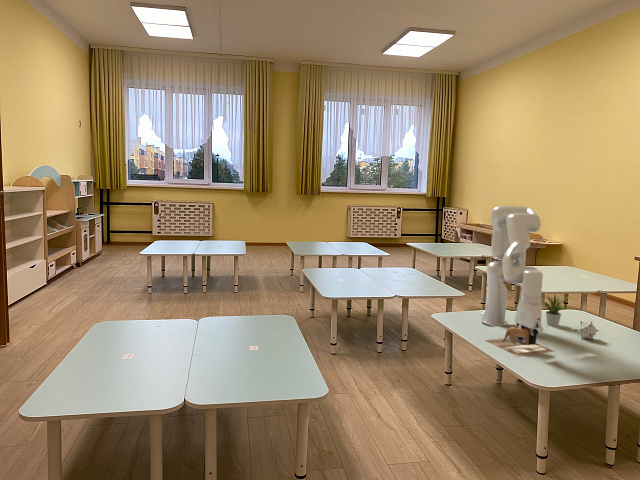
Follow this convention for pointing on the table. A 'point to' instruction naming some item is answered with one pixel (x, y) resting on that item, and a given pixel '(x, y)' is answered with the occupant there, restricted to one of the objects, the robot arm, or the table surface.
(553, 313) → the house plant
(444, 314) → the table surface
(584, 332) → the game die
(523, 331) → the lion figurine
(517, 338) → the dome housing
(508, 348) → the brown flat square board
